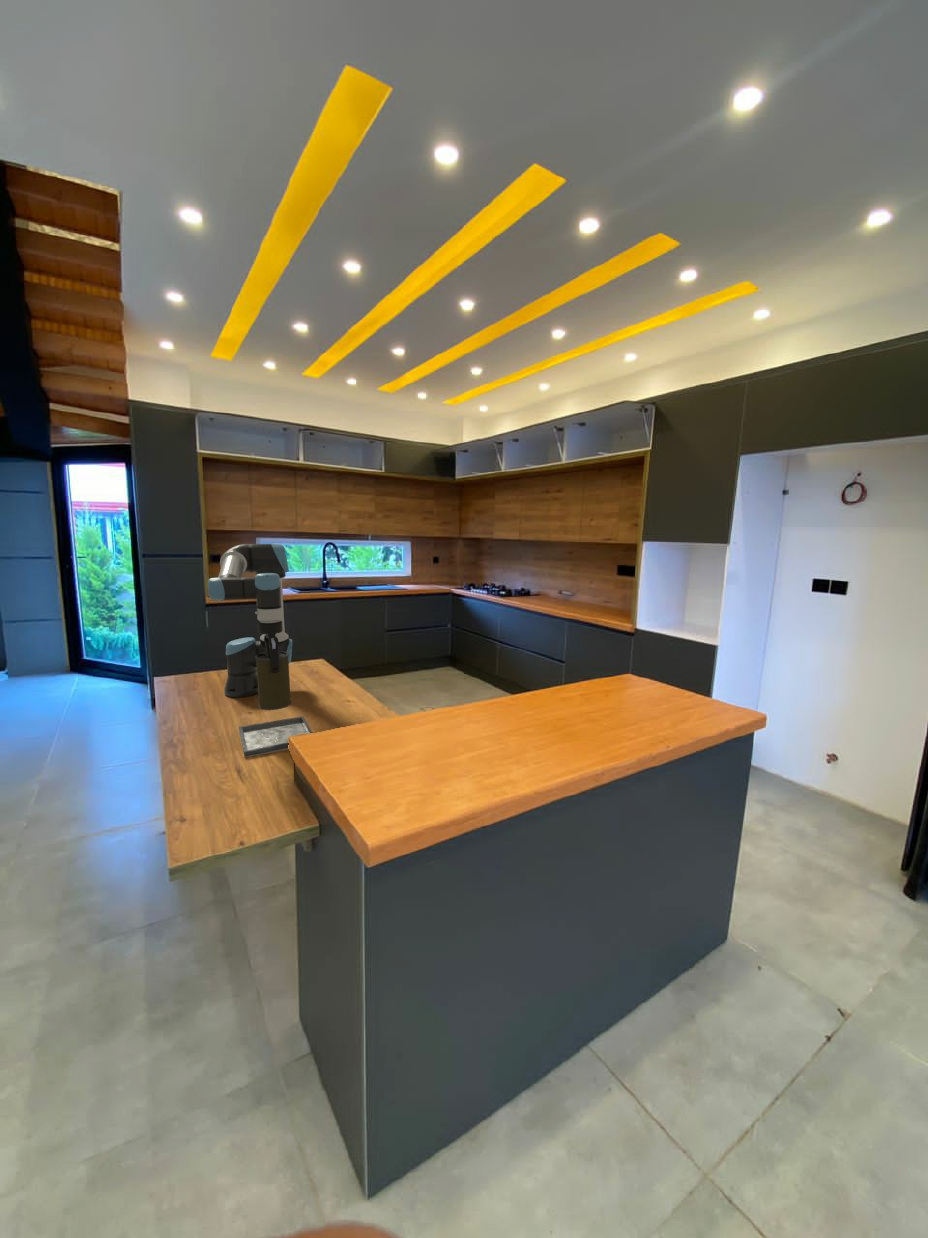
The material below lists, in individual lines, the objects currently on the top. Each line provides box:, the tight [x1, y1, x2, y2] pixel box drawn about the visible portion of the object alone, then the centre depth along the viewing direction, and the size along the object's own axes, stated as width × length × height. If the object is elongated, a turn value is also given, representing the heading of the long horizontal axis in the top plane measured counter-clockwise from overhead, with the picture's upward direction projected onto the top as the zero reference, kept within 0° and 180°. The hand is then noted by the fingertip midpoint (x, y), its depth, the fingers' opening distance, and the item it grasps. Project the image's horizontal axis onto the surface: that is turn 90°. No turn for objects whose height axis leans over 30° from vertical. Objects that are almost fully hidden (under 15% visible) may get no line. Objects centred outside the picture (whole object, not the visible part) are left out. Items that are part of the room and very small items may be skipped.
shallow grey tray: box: [238, 715, 314, 758], centre depth 166 cm, size 22×22×2 cm
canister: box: [255, 647, 292, 711], centre depth 162 cm, size 11×10×20 cm
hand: (273, 688), depth 163 cm, fingers open, 6 cm apart
